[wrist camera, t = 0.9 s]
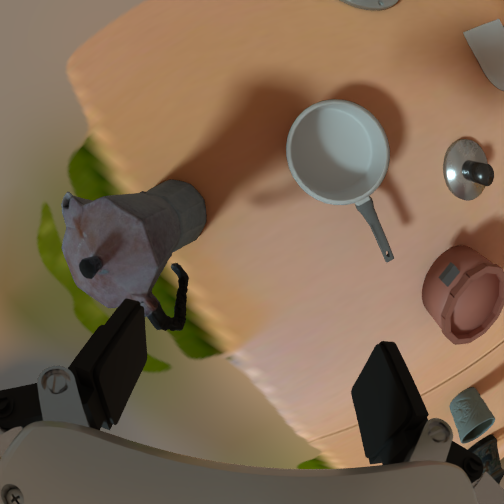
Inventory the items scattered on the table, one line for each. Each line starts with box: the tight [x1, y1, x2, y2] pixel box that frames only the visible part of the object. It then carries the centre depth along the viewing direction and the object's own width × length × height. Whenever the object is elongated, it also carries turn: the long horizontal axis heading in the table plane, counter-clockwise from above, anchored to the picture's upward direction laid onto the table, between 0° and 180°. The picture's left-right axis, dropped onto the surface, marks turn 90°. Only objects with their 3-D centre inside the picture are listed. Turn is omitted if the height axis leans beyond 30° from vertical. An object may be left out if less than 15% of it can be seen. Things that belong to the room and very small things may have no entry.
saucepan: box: [286, 99, 394, 262], centre depth 31 cm, size 12×20×6 cm, turn 32°
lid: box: [443, 139, 494, 200], centre depth 29 cm, size 9×9×6 cm
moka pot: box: [61, 180, 206, 331], centre depth 27 cm, size 10×15×20 cm, turn 41°
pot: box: [422, 246, 504, 345], centre depth 34 cm, size 13×17×8 cm
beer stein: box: [468, 435, 504, 484], centre depth 53 cm, size 16×19×25 cm
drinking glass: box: [450, 387, 495, 443], centre depth 44 cm, size 10×10×12 cm
